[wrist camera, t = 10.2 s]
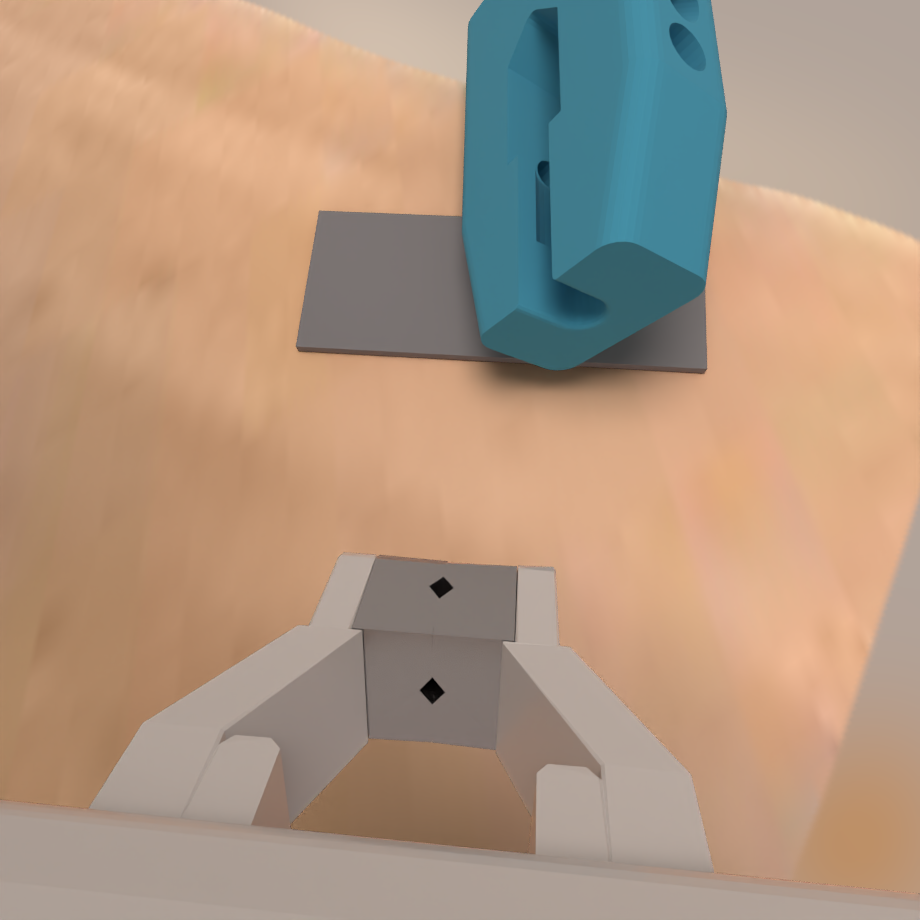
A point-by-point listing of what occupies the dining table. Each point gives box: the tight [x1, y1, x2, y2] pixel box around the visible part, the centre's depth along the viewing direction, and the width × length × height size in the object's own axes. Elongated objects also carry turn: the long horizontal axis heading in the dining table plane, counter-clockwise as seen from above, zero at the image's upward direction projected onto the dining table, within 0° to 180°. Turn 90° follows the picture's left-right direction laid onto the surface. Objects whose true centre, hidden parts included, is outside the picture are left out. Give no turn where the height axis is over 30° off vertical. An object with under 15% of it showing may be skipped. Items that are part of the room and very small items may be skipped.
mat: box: [296, 211, 707, 373], centre depth 35 cm, size 20×8×1 cm, turn 85°
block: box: [462, 0, 727, 370], centre depth 31 cm, size 12×5×20 cm
